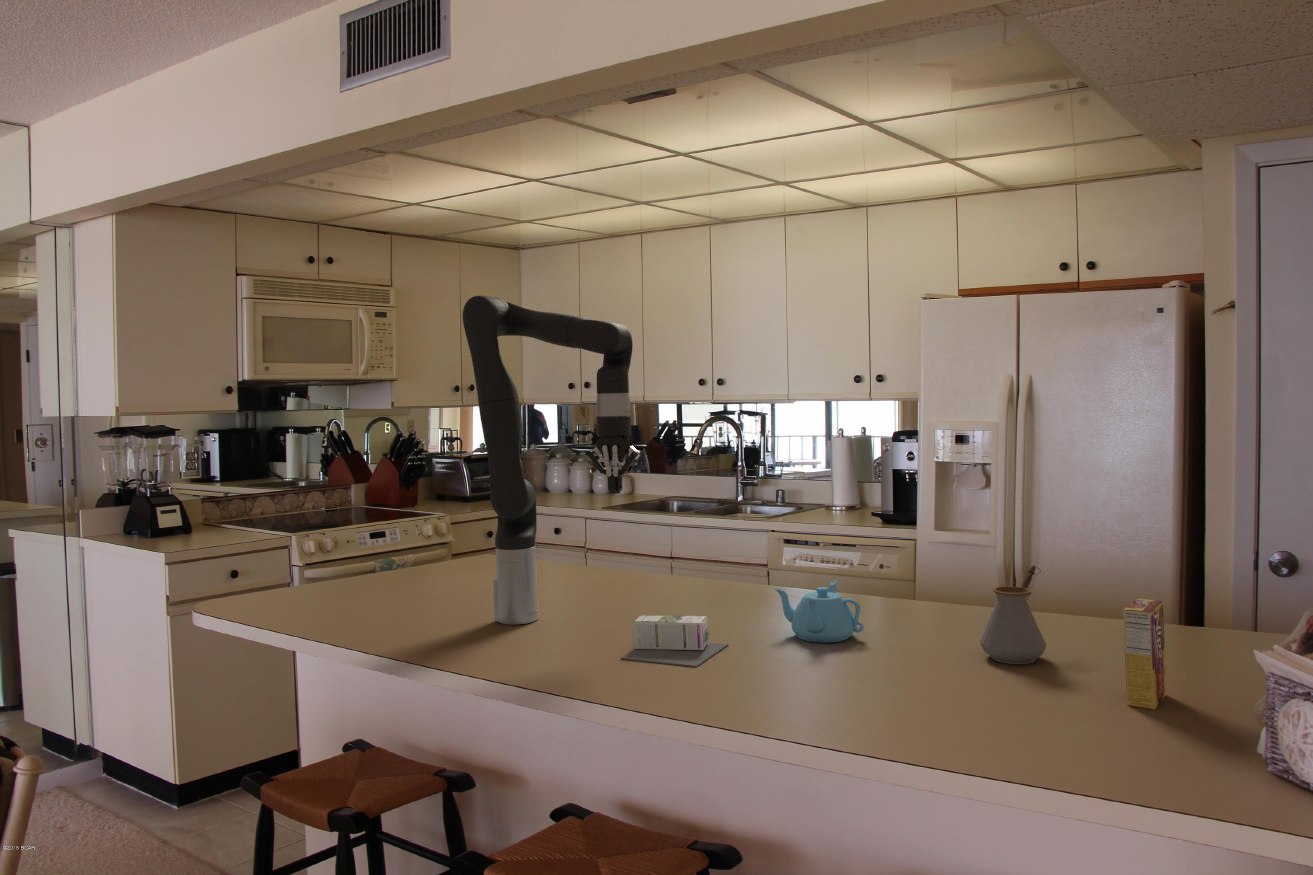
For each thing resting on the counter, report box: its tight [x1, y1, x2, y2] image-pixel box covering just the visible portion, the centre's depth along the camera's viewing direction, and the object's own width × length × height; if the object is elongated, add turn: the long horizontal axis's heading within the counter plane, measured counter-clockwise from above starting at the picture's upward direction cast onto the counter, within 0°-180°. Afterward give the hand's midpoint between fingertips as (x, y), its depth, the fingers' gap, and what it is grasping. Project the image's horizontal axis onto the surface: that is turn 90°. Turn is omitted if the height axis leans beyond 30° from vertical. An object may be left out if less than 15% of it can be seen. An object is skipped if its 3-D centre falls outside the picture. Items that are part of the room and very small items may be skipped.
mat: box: [620, 641, 729, 668], centre depth 179 cm, size 16×16×1 cm
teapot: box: [773, 579, 865, 643], centre depth 186 cm, size 15×15×10 cm
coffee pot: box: [979, 564, 1047, 665], centre depth 171 cm, size 21×12×15 cm, turn 142°
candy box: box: [1122, 598, 1168, 710], centre depth 142 cm, size 9×4×15 cm, turn 140°
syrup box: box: [631, 614, 710, 650], centre depth 181 cm, size 6×6×14 cm
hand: (615, 493), depth 197 cm, fingers closed
